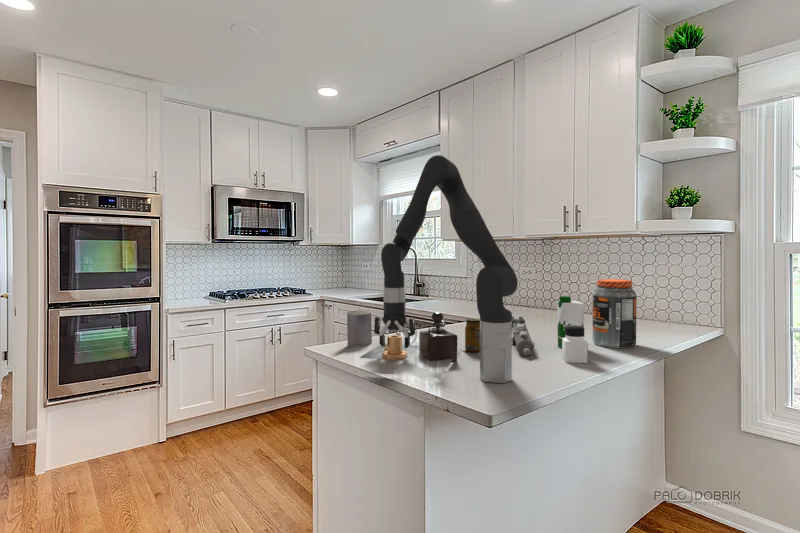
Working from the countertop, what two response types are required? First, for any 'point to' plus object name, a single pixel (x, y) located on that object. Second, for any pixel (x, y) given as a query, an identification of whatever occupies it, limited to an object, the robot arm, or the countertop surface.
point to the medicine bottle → (574, 345)
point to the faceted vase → (394, 348)
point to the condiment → (472, 336)
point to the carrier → (378, 351)
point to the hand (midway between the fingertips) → (394, 347)
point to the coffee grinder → (438, 342)
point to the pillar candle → (359, 328)
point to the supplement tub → (614, 313)
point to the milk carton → (568, 315)
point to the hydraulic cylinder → (521, 336)
